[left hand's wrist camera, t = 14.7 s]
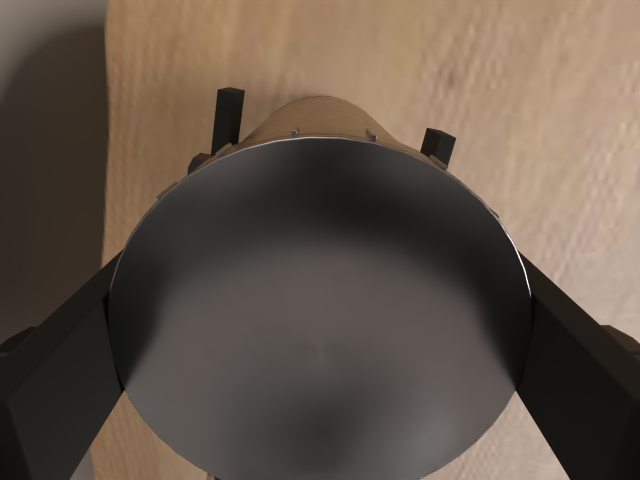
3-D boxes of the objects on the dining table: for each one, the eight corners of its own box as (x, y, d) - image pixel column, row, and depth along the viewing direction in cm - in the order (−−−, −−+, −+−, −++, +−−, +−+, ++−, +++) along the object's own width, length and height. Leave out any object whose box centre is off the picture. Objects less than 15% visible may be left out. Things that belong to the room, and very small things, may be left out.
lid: (55, 228, 11) (10, 255, 9) (431, 43, 10) (454, 38, 8) (245, 489, 14) (235, 542, 13) (547, 383, 13) (581, 429, 11)
